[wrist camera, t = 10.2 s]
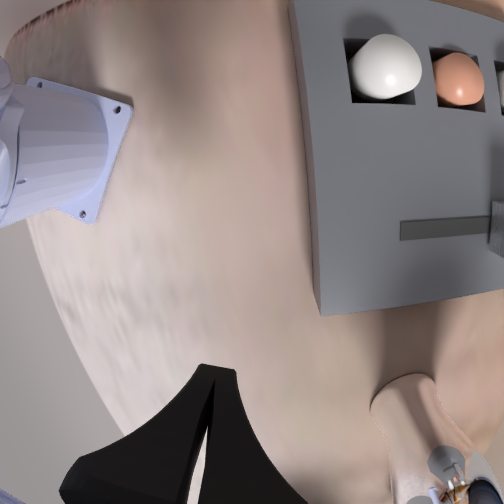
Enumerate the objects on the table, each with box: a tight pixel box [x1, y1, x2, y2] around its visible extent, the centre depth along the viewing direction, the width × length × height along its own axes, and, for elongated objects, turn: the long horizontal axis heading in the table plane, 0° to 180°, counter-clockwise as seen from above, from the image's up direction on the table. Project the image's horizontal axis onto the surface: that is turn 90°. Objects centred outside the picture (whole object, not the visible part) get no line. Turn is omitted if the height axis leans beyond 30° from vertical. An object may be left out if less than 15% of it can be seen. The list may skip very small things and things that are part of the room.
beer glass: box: [370, 374, 504, 504], centre depth 16 cm, size 7×7×15 cm
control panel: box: [288, 0, 504, 316], centre depth 16 cm, size 18×18×3 cm
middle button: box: [431, 53, 484, 108], centre depth 14 cm, size 3×3×3 cm
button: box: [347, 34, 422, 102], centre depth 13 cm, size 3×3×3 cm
